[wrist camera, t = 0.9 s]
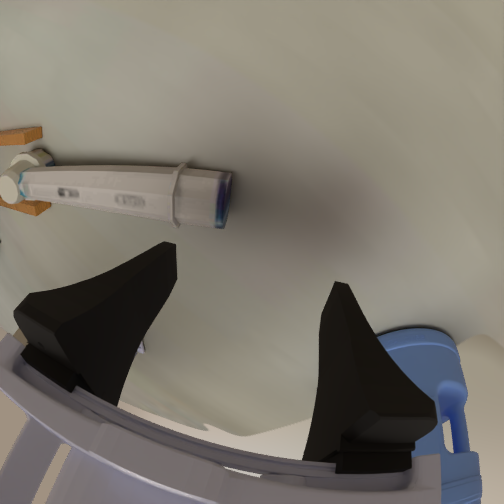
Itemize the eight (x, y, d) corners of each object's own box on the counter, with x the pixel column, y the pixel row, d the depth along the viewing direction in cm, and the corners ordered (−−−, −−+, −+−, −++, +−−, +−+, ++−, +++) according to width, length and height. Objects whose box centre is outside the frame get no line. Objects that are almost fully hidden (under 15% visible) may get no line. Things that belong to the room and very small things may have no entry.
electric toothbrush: (220, 249, 19) (-9, 216, 19) (232, 207, 24) (28, 189, 24) (226, 175, 16) (-19, 170, 16) (238, 150, 21) (22, 147, 21)
